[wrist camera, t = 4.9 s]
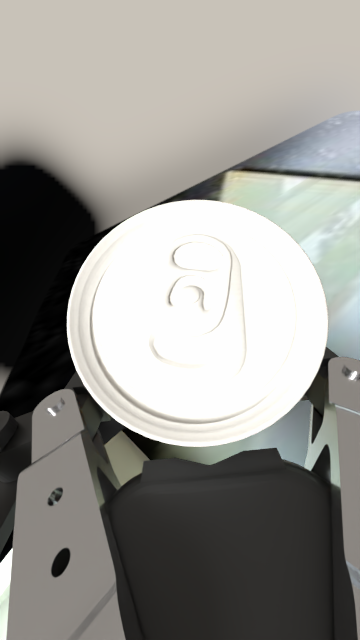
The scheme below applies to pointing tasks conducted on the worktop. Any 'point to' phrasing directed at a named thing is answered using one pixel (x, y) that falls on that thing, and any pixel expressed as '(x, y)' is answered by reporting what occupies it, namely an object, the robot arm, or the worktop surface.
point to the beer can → (197, 323)
